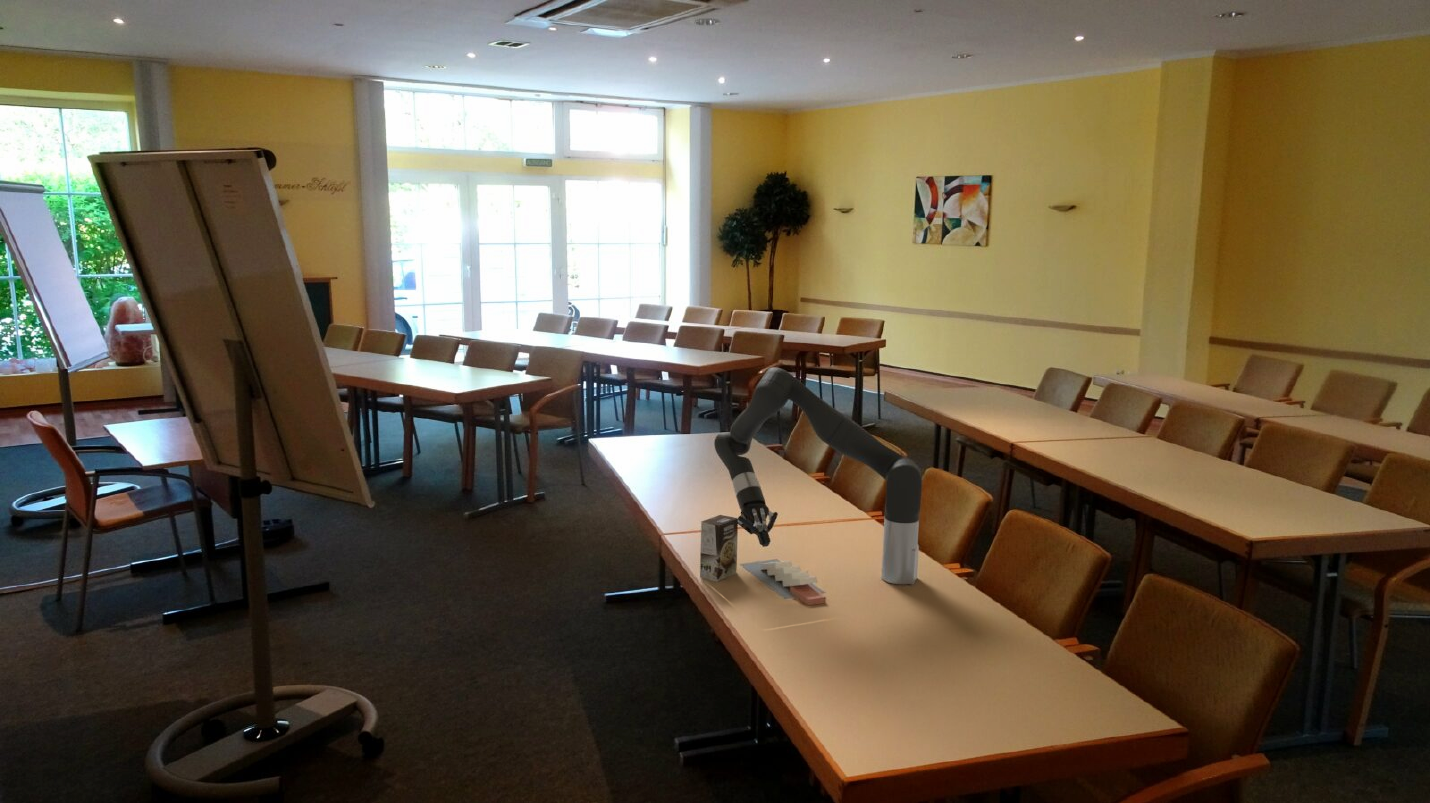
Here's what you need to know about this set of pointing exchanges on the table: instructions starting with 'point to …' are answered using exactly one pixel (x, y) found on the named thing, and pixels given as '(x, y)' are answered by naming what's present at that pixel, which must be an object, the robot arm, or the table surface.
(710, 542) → the coffee box
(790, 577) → the domino
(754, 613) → the table surface
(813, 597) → the domino
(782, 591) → the mat
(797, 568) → the domino
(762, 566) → the domino
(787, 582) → the domino
